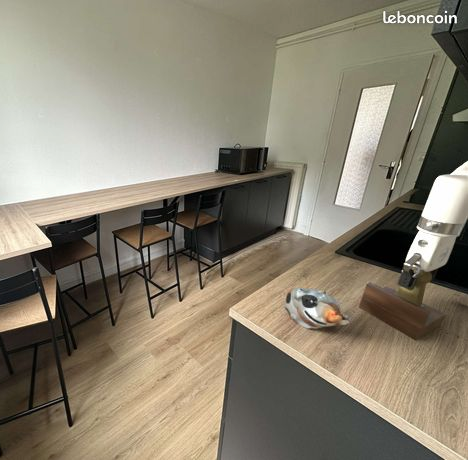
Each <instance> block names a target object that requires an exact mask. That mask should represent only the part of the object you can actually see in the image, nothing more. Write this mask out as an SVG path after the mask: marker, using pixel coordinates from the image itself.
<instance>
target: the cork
mask: <svg viewBox="0 0 468 460" xmlns="http://www.w3.org/2000/svg"><path fill="white" fill-rule="evenodd" d="M412 269H413V271H414V272H415V271H416V270H417V269H415V268H413V267H412ZM417 278H418V279H417V281H416V284H415V286H414V288H413V290H408V289H406V288H404V287H401V286H399V287H398V288H397V290H396V291H397V292H396V293H395V294H396V295H398V296H400V297H402V298H404V299H406V300H408V301H410V302H412V303H414V304H416V305H418V306H420V307H421V305H422V303H423V300H424V295H425V292H426V287H427V284H428V283H430V282H432V281H431V279H432V274H431V273H430V272H425V271H424V270H421V272H420V273H419V274H418V275H417Z"/></svg>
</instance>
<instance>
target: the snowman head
mask: <svg viewBox="0 0 468 460" xmlns="http://www.w3.org/2000/svg"><path fill="white" fill-rule="evenodd" d="M284 310H286V311H287V313H288V315H289V319H290V320H292V321H293V322H295V323H296V324H298V325H300V326H301V327H303V328H305V329H314V330H317V329H321V328H327V327H333V326H334V327H336V326H345V325H347V324H350V323H352V317H350V316H349V315H348V314H344V313H342V310H341V305H340V303H339V302H338V301H337V300H336V299H335V298H334V297H332V296H330V295H328V294H327V292H326V290H325V289H324V288H323V289H316V288H302V287H292V288H291V289H290V290H289V291H288V292H287V294H286V296H285V303H284Z"/></svg>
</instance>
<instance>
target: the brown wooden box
mask: <svg viewBox="0 0 468 460" xmlns="http://www.w3.org/2000/svg"><path fill="white" fill-rule="evenodd" d="M396 292H397V290H395V289H394V288H391V287H389V286H387V285H386V286H383V287H381V286H379V285H377V284H375V283H373V282H370V281H368V282H366V284H365V288H364V290H363V293H362V296H361V299H360V302H359V304H358V308H359V309H362V310H363V311H364V312H366V313H368V314H369V315H370V316H373V317H375V318H376V319H378V320H380V321H381V322H383V323H385V324H387V325H389V326H390V327H392V328H394V329H395V330H397V331H399V332H400V333H402V334H404V335H406V336H407V337H409V338H411V339H412V340H414V341H417V340H419V339H420V338H422V337H424V336H425V335H427V334H429V333H431V332H432V331H434V330H436V329H437V328H439V327H441V325H442V323H443V322H444V319H445V318H446V315H447V314H446V313H444V312H443V311H440V310H439V309H436V308H434V307H432V306H430V305H427V304H425V303H423V302H422V305H421V307H420V306H418V305H416V304H414V303H412V302H410V301H408V300H406V299H404V298H402V297H400V296H398V295H396V294H395V293H396Z"/></svg>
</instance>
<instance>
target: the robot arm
mask: <svg viewBox="0 0 468 460" xmlns="http://www.w3.org/2000/svg"><path fill="white" fill-rule="evenodd" d="M467 220H468V160H467V161H466V162H464V163H463V164H462V165H460V166H459V167H458V168H456V169H455V170H453V172H452V173H450V174H449V173H447V174H442V175H439V176H438V177H437V178H436V179H435V180H434V182H433V185H432V187H431V189H430V192H429V195H428V198H427V200H426V203H425V205H424V208H423V210H422V213H421V215H420V218H419V221H418V223H417V226H416V228H417V230H419V231H418V232H417V234H416V236H415V238H414V239H413V242H412V244H411V245H410V248H409V250H408V252H407V255H406V258H405V262H404V263H403V267H402V270H401V271H400V272H401V273H400V276H399V279H398V281H397V286H399V287H400V286H401V287H404V288H406V289H408V290H413V288H414V286H415V284H416V281H417V279H418V278H417V275H418V274H419V273H420V272H421V270H424V271H425V272H430V273H431V274H432V279H431V281H430V282H433V281H434V279H435V278H436V275H437V273H438V271H439V268H441V267H443V266H445V265H446V264H447V263H448V261H449V258H450V255H451V254H452V251H453V248H454V245H455V243H456V239H457V237H459V236H460V235H461V233H462V231H463V229H464V227H465V225H466V223H467ZM412 267H413V268H415V269H417V270H416V271H415V272H414V271H413V269H412Z"/></svg>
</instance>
